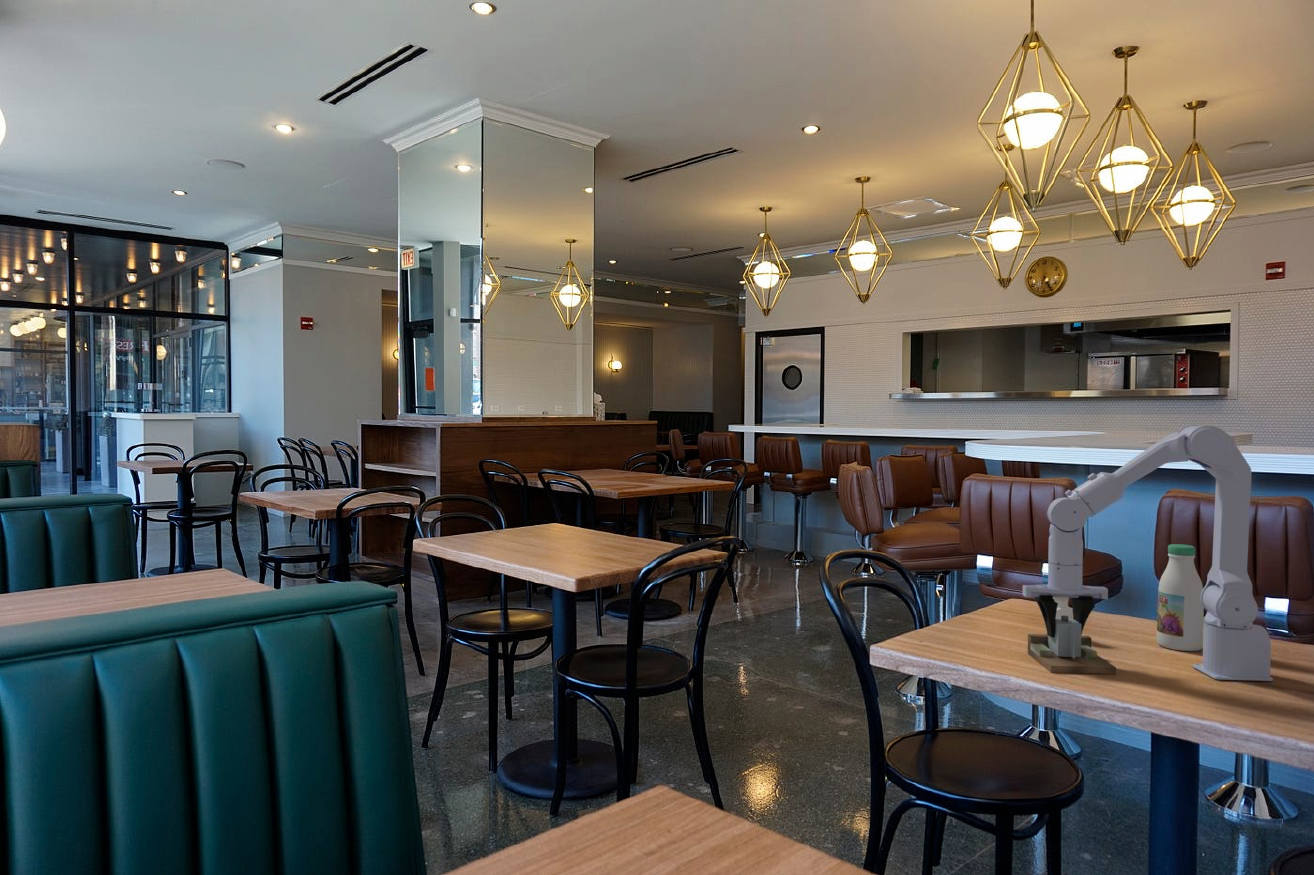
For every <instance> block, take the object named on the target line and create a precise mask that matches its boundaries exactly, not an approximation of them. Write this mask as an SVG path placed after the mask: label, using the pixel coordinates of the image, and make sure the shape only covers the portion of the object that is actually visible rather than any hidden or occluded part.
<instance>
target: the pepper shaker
mask: <svg viewBox="0 0 1314 875" xmlns="http://www.w3.org/2000/svg"><path fill="white" fill-rule="evenodd" d="M1053 599H1055V602H1057V603H1058V606H1057V611H1056V617H1061V616H1062V615H1065V616H1068V617H1071V618H1072V619H1073V609H1072V608H1071V607H1070V606H1069V599H1070V598H1066V597H1053ZM1045 630H1046V629H1045ZM1045 632H1046V633H1045V634H1047V630H1046V631H1045Z"/></svg>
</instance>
